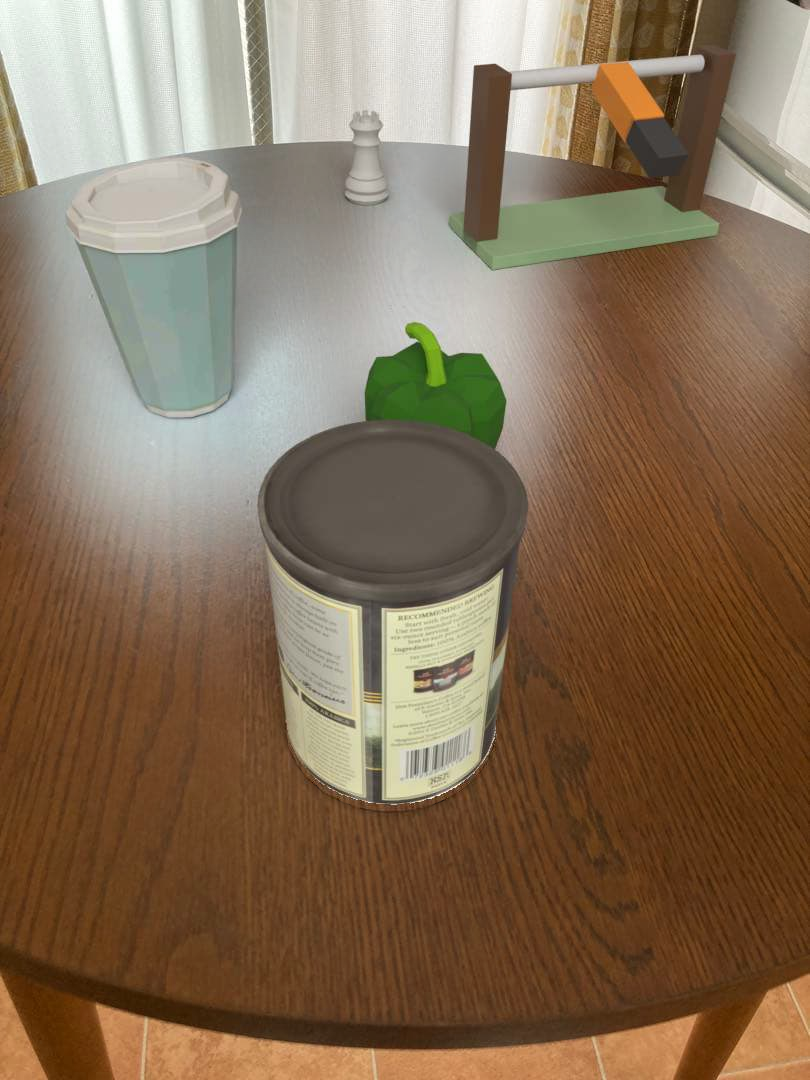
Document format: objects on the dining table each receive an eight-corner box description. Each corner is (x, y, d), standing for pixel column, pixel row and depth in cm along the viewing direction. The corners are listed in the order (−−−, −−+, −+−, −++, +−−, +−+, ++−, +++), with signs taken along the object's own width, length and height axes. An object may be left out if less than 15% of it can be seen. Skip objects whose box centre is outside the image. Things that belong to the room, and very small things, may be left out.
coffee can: (378, 612, 50) (378, 389, 40) (538, 711, 45) (580, 484, 36) (237, 731, 44) (199, 501, 34) (404, 859, 39) (413, 633, 30)
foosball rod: (759, 166, 77) (690, 71, 83) (773, 141, 75) (701, 45, 80) (560, 192, 72) (500, 89, 77) (569, 166, 70) (507, 62, 75)
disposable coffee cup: (166, 456, 60) (123, 233, 50) (77, 392, 65) (22, 179, 55) (290, 394, 66) (274, 183, 56) (198, 339, 71) (169, 139, 61)
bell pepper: (512, 512, 56) (530, 370, 50) (379, 528, 55) (380, 384, 48) (477, 434, 62) (488, 298, 56) (357, 447, 61) (354, 309, 54)
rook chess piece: (370, 186, 95) (370, 104, 90) (397, 199, 93) (399, 116, 87) (335, 196, 93) (333, 112, 88) (362, 210, 91) (361, 125, 85)
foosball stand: (660, 197, 95) (693, 35, 85) (717, 235, 88) (760, 64, 78) (448, 226, 88) (457, 54, 78) (492, 270, 81) (508, 88, 71)
